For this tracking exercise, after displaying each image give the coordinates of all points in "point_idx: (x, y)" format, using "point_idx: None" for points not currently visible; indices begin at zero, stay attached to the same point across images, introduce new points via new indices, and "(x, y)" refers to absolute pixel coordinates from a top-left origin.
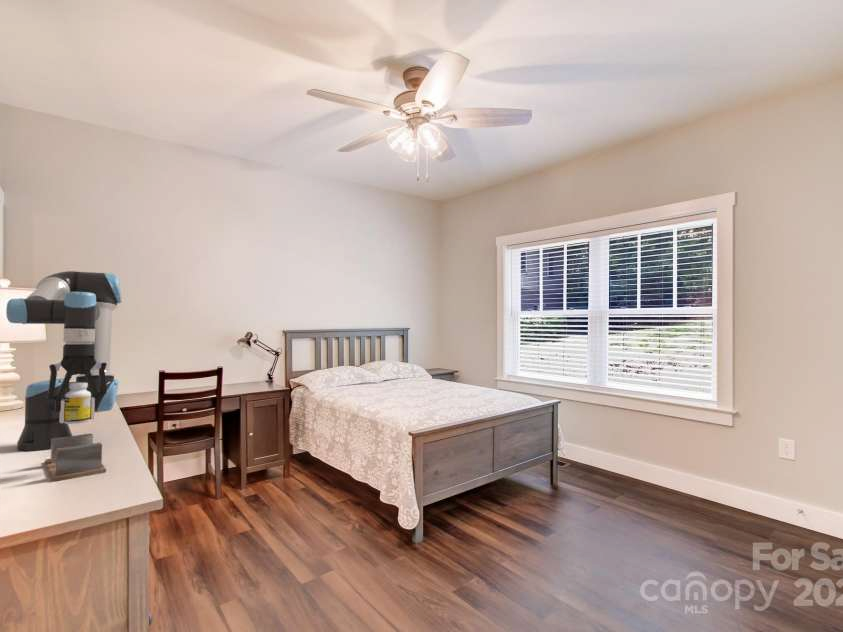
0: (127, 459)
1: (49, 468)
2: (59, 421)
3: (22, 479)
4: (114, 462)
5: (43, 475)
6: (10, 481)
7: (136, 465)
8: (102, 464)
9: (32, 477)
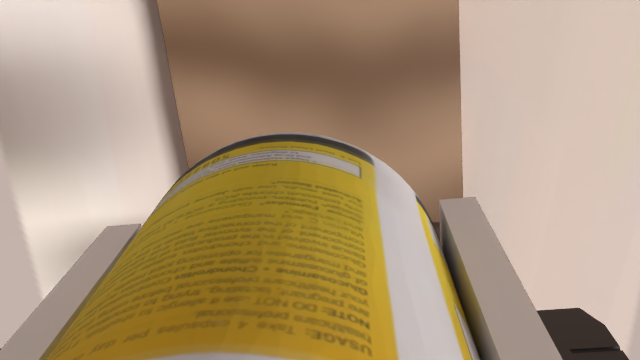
0: (632, 48)
1: (175, 80)
2: (105, 232)
3: (68, 155)
4: (543, 80)
5: (160, 138)
6: (17, 159)
7: (630, 245)
8: (461, 187)
9: (110, 145)
